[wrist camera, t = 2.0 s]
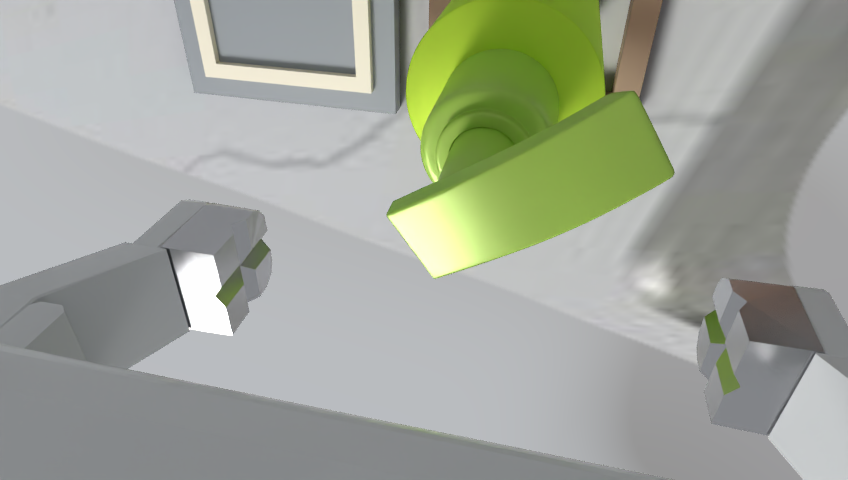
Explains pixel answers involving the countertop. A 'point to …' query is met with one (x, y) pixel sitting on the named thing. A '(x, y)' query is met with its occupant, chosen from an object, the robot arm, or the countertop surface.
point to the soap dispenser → (518, 132)
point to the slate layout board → (295, 51)
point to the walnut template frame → (632, 48)
